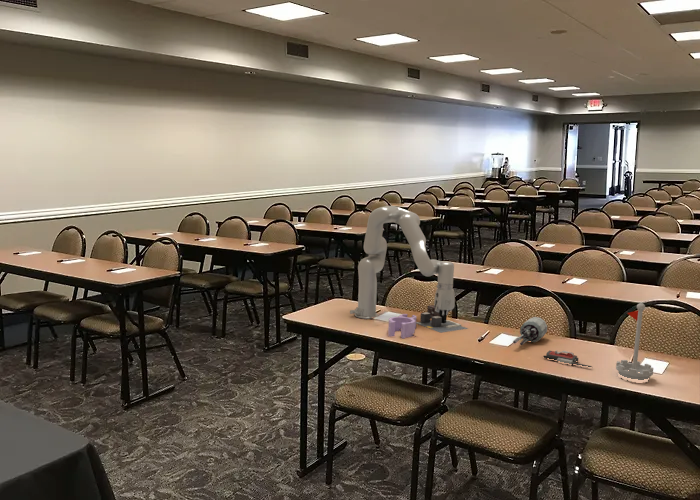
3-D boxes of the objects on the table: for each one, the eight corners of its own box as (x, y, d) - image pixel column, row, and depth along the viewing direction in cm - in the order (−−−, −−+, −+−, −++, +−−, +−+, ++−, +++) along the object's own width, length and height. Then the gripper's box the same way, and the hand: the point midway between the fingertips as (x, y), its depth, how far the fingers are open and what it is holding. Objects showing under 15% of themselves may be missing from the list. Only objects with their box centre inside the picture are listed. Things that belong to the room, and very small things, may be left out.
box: (426, 318, 312) (427, 305, 311) (436, 318, 315) (436, 304, 314) (432, 321, 307) (433, 307, 306) (442, 320, 310) (443, 307, 309)
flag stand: (658, 380, 230) (667, 305, 226) (640, 386, 222) (649, 308, 218) (626, 370, 240) (634, 298, 236) (608, 376, 233) (616, 301, 229)
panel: (440, 335, 282) (440, 331, 282) (414, 325, 298) (414, 321, 298) (468, 330, 292) (468, 326, 291) (441, 321, 308) (441, 317, 308)
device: (526, 334, 289) (527, 314, 287) (547, 338, 284) (548, 318, 282) (508, 350, 263) (509, 328, 261) (530, 354, 257) (532, 332, 256)
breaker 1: (424, 323, 298) (424, 314, 297) (420, 321, 300) (420, 312, 300) (430, 322, 300) (430, 313, 300) (426, 320, 303) (426, 312, 302)
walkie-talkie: (541, 361, 249) (591, 371, 239) (542, 350, 249) (592, 360, 238) (546, 356, 257) (595, 365, 246) (547, 346, 256) (596, 355, 245)
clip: (397, 326, 296) (398, 312, 295) (421, 329, 291) (422, 316, 290) (383, 335, 277) (384, 321, 276) (408, 339, 272) (409, 325, 271)
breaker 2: (435, 327, 291) (435, 318, 290) (431, 325, 293) (431, 316, 293) (441, 326, 293) (441, 317, 292) (437, 324, 296) (437, 315, 295)
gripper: (438, 289, 286) (436, 326, 288) (461, 286, 294) (459, 322, 296) (428, 286, 292) (426, 322, 294) (451, 284, 300) (448, 319, 303)
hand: (442, 322), depth 295 cm, fingers closed
